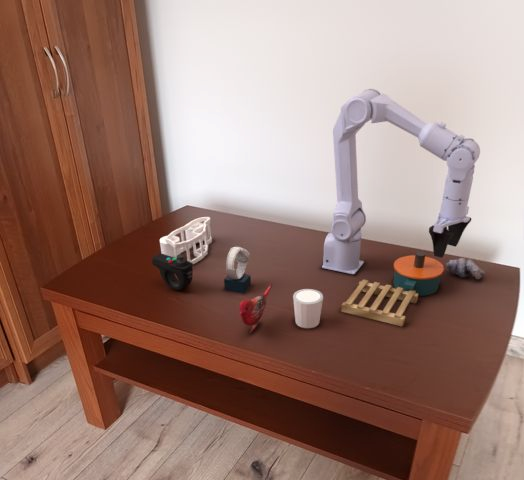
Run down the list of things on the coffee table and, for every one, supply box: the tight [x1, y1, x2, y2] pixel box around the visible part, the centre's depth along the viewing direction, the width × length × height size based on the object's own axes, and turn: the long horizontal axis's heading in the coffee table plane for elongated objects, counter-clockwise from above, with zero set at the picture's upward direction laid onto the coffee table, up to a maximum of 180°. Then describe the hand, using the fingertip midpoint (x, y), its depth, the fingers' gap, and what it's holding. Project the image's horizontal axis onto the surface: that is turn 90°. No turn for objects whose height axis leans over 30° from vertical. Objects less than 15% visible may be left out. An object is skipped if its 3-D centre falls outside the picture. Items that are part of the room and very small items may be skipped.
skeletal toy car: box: [159, 216, 213, 265], centre depth 153 cm, size 20×11×7 cm, turn 147°
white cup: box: [292, 288, 324, 329], centre depth 122 cm, size 7×7×7 cm
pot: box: [392, 269, 442, 297], centre depth 135 cm, size 11×17×5 cm
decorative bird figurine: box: [238, 283, 273, 334], centre depth 121 cm, size 3×18×10 cm, turn 156°
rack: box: [340, 279, 419, 327], centre depth 128 cm, size 15×13×3 cm
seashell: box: [445, 257, 485, 280], centre depth 138 cm, size 5×5×10 cm
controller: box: [151, 253, 194, 291], centre depth 136 cm, size 4×12×10 cm, turn 54°
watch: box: [223, 246, 252, 294], centre depth 135 cm, size 6×8×11 cm
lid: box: [393, 251, 445, 279], centre depth 133 cm, size 12×12×4 cm
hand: (445, 250), depth 129 cm, fingers open, 7 cm apart
